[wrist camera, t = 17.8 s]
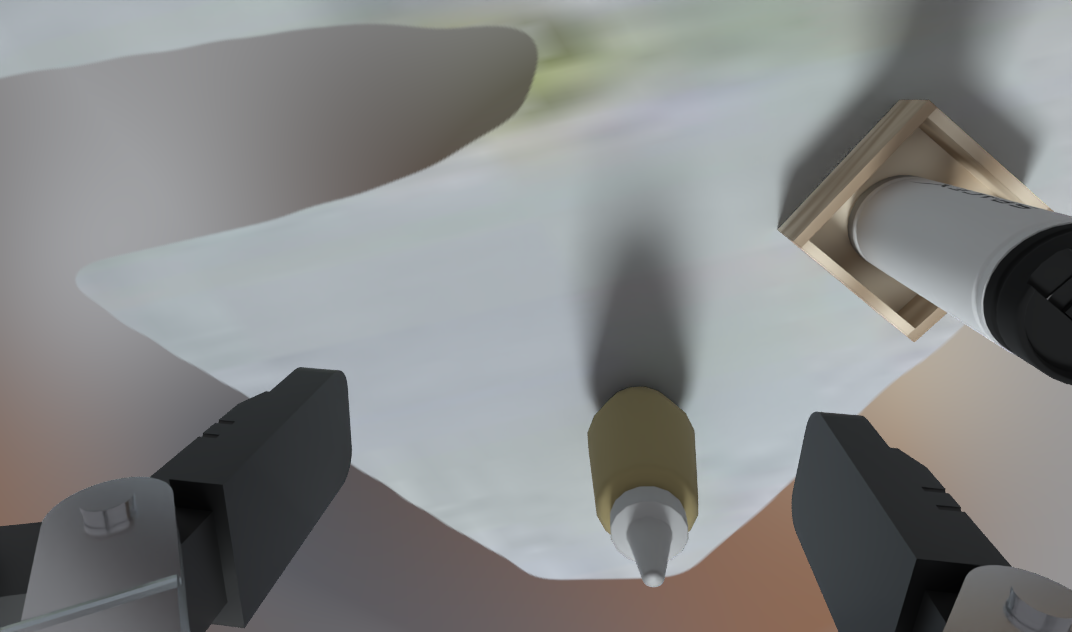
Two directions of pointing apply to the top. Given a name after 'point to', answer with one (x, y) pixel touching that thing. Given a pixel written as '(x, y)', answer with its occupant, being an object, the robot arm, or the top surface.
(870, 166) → the birch dock
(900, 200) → the travel mug
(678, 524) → the squeeze bottle
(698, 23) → the top surface
